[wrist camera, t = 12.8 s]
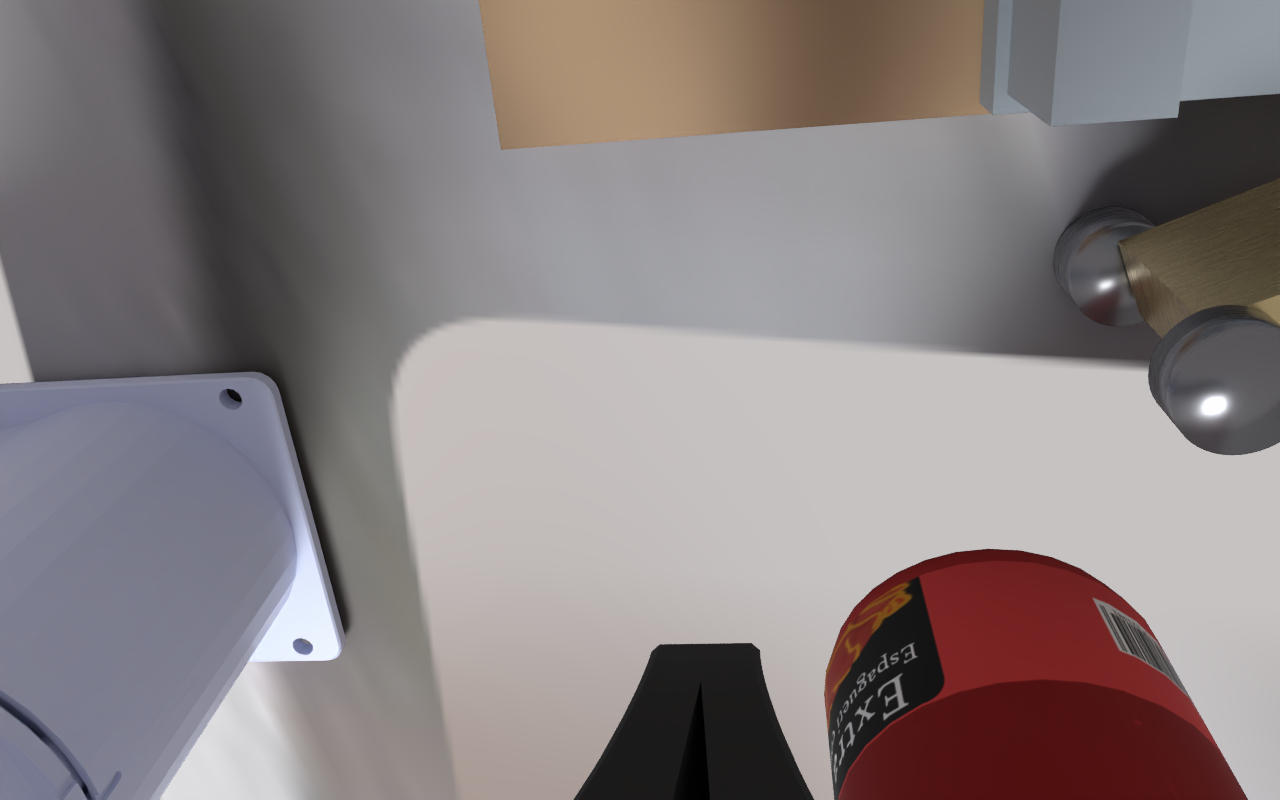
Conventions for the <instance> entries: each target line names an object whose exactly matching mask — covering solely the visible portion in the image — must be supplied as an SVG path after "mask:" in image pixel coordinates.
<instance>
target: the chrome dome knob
mask: <svg viewBox="0 0 1280 800" xmlns="http://www.w3.org/2000/svg"><path fill="white" fill-rule="evenodd" d="M1154 227H1156V226H1155V225H1154V224H1153V223H1152V222H1150V221H1149V220H1148V219H1147V218H1145V217H1144V216H1143V215H1141V214H1140V213H1138V212H1136V211H1134V210H1131V209H1128V208H1124V207H1105V208H1100V209H1097V210H1094V211H1091V212H1089V213H1087V214H1085V215H1083V216H1081V217H1080V218H1078V219H1077V220H1076V221H1075V222H1073V223H1072V224H1071V225H1070V226H1069V227H1068V228H1067V229H1066V231H1065V232H1064V233H1063V235H1062V236H1061V238H1060V240H1059V242H1058V244H1057V246H1056V249H1055V253H1054V264H1053V265H1054V272H1055V275H1056V278H1057V280H1058V282H1059V283H1060V285H1061V286H1062V288H1063V289H1064V290H1065V291H1066V293H1067V294H1068V295H1069V296H1070V297H1071V299H1072V300H1073V301H1074V302H1075V304H1076V305H1077V306H1078V307H1079V308H1080V310H1081V311H1082V312H1083V313H1084V314H1085V315H1086V316H1088V317H1089V318H1090V319H1092V320H1094V321H1095V322H1098V323H1100V324H1104V325H1108V326H1130V325H1134V324H1138V323H1141V322H1143V321H1145V320H1144V319H1143V318H1142V317H1141V316H1140V313H1139V310H1138V306H1137V303H1136V300H1135V296H1134V293H1133V290H1132V287H1131V283H1130V280H1129V277H1128V273H1127V270H1126V267H1125V264H1124V260H1123V257H1122V254H1121V250H1120V247H1119V244H1118V241H1121V240H1123V239H1126V238H1128V237H1131V236H1133V235H1136V234H1138V233H1141V232H1144V231H1146V230H1149V229H1151V228H1154Z"/></svg>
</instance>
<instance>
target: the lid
mask: <svg viewBox="0 0 1280 800" xmlns="http://www.w3.org/2000/svg"><path fill="white" fill-rule="evenodd" d="M1269 94H1280V0H985V2H984V21H983V41H982V61H981V81H980V101H979V103H980V104H981V105H982V106H983V107H984V108H985V109H987V110H988V111H989V112H990V113H991V114H992V115H997V114H1011V113H1024V112H1032V113H1033V114H1035V115H1036V116H1037V117H1039V118H1040V119H1041V120H1043V121H1044V122H1045V123H1047V124H1048V125H1049V126H1051V127H1052V126H1065V125H1079V124H1093V123H1107V122H1121V121H1135V120H1149V119H1163V118H1177V117H1178V112H1179V104H1180V101H1187V100H1201V99H1214V98H1228V97H1241V96H1255V95H1269Z"/></svg>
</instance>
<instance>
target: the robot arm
mask: <svg viewBox="0 0 1280 800" xmlns="http://www.w3.org/2000/svg"><path fill="white" fill-rule="evenodd" d="M227 389H233V390H235V391H236V392H237V393H239V395H240V396H241V398H242V402H237V401H235V400H233V399H232V398H230V396H229V394H228V393H227ZM300 638H302V639H306V640H308V641H309V642H311V644H312V645H310V644H305V643H304V642H302V641H301V639H300ZM344 645H345V634H344V631H343V627H342V623H341V620H340V616H339V612H338V608H337V605H336V601H335V597H334V593H333V590H332V586H331V582H330V579H329V575H328V571H327V567H326V564H325V560H324V556H323V552H322V549H321V545H320V541H319V538H318V534H317V530H316V526H315V523H314V519H313V515H312V511H311V508H310V504H309V500H308V497H307V493H306V489H305V485H304V482H303V478H302V474H301V471H300V467H299V463H298V459H297V456H296V452H295V448H294V444H293V441H292V437H291V433H290V430H289V426H288V422H287V418H286V415H285V411H284V407H283V403H282V400H281V396H280V392H279V390H278V387H277V385H276V383H275V382H274V381H273V380H272V379H271V378H270V377H268V376H266V375H264V374H263V373H259V372H235V373H215V374H194V375H174V376H154V377H133V378H113V379H92V380H72V381H52V382H31V383H11V384H0V800H159V799H160V797H161V796H162V794H163V793H164V791H165V790H166V788H167V786H168V785H169V783H170V782H171V780H172V779H173V777H174V776H175V774H176V772H177V771H178V769H179V768H180V766H181V765H182V763H183V762H184V760H185V758H186V757H187V755H188V754H189V752H190V751H191V749H192V748H193V746H194V744H195V743H196V741H197V740H198V738H199V737H200V735H201V734H202V732H203V731H204V729H205V727H206V726H207V724H208V723H209V721H210V720H211V718H212V717H213V715H214V713H215V712H216V710H217V709H218V707H219V706H220V704H221V703H222V701H223V699H224V698H225V696H226V695H227V693H228V692H229V690H230V689H231V687H232V686H233V684H234V682H235V681H236V679H237V678H238V676H239V675H240V673H241V672H242V670H243V668H244V667H245V665H246V664H247V662H255V661H327V660H332V659H335V658H336V657H338V656H339V654H340V652H341V650H342V649H343V647H344ZM574 800H814V799H813V797H812V795H811V793H810V791H809V789H808V787H807V785H806V783H805V781H804V779H803V777H802V775H801V773H800V771H799V769H798V766H797V764H796V762H795V760H794V757H793V755H792V753H791V750H790V748H789V746H788V744H787V741H786V739H785V737H784V735H783V732H782V730H781V727H780V725H779V722H778V720H777V717H776V714H775V711H774V708H773V705H772V702H771V700H770V697H769V693H768V690H767V687H766V683H765V679H764V675H763V671H762V666H761V659H760V650H759V649H758V648H756V647H755V646H754V645H753V644H752V643H733V644H665V645H659V646H657V647H656V648H655V649H654V650H653V651H652V652H651V655H650V659H649V661H648V664H647V667H646V669H645V671H644V674H643V676H642V679H641V681H640V683H639V685H638V688H637V690H636V692H635V694H634V696H633V698H632V700H631V702H630V704H629V706H628V708H627V710H626V712H625V714H624V716H623V718H622V720H621V722H620V724H619V725H618V727H617V729H616V731H615V733H614V734H613V736H612V738H611V740H610V741H609V743H608V745H607V747H606V749H605V751H604V752H603V754H602V756H601V758H600V759H599V761H598V763H597V764H596V766H595V768H594V769H593V771H592V772H591V774H590V775H589V777H588V778H587V780H586V781H585V783H584V784H583V786H582V788H581V789H580V791H579V792H578V794H577V795H576V797H575V799H574Z"/></svg>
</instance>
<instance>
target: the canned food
mask: <svg viewBox="0 0 1280 800" xmlns="http://www.w3.org/2000/svg"><path fill="white" fill-rule="evenodd" d="M824 696H825V707H826V716H827V727H828V737H829V748H830V758H831V769H832V779H833V789H834V799H835V800H1248V799H1247V797H1246V795H1245V793H1244V792H1243V790H1242V788H1241V786H1240V785H1239V783H1238V781H1237V779H1236V778H1235V776H1234V774H1233V772H1232V771H1231V769H1230V767H1229V765H1228V763H1227V762H1226V760H1225V758H1224V757H1223V755H1222V753H1221V751H1220V749H1219V748H1218V746H1217V744H1216V742H1215V741H1214V739H1213V737H1212V735H1211V733H1210V732H1209V730H1208V728H1207V726H1206V725H1205V723H1204V721H1203V719H1202V718H1201V716H1200V715H1199V712H1198V711H1197V709H1196V707H1195V705H1194V703H1193V702H1192V700H1191V698H1190V696H1189V695H1188V693H1187V691H1186V690H1185V688H1184V686H1183V684H1182V683H1181V681H1180V679H1179V677H1178V675H1177V673H1176V672H1175V670H1174V668H1173V666H1172V665H1171V663H1170V661H1169V659H1168V658H1167V656H1166V654H1165V652H1164V651H1163V649H1162V647H1161V645H1160V644H1159V642H1158V640H1157V639H1156V637H1155V635H1154V634H1153V632H1152V631H1151V629H1150V627H1149V626H1148V624H1147V623H1146V621H1145V619H1144V618H1143V617H1142V616H1141V615H1139V613H1138V612H1136V611H1135V610H1134V609H1133V608H1132V607H1131V606H1130V605H1129V604H1128V603H1127V602H1126V601H1125V600H1124V599H1123V598H1122V597H1121V596H1119V595H1118V594H1117V593H1115V592H1114V591H1113V590H1112V589H1110V588H1109V587H1108V586H1106V585H1105V584H1104V583H1102V582H1101V581H1099V580H1097V579H1096V578H1094V577H1092V576H1091V575H1090V574H1088V573H1086V572H1084V571H1083V570H1081V569H1080V568H1077V567H1075V566H1072V565H1070V564H1067V563H1065V562H1062V561H1060V560H1057V559H1055V558H1052V557H1048V556H1044V555H1039V554H1034V553H1029V552H1024V551H1018V550H999V549H983V550H973V551H964V552H955V553H951V554H948V555H943V556H940V557H936V558H932V559H928V560H925V561H922V562H920V563H918V564H916V565H914V566H911V567H909V568H907V569H904V570H902V571H900V572H898V573H896V574H894V575H893V576H892V577H890V578H889V579H887V580H886V581H884V582H883V583H881V584H880V585H878V586H877V587H875V588H874V589H873V590H872V591H871V592H870V593H869V594H868V595H867V596H866V597H865V598H864V599H863V600H861V602H859V604H857V605H856V606H855V608H854V609H853V611H852V612H851V614H850V615H849V617H848V618H847V620H846V621H845V623H844V625H843V626H842V628H841V630H840V633H839V635H838V638H837V641H836V644H835V647H834V649H833V653H832V655H831V658H830V662H829V664H828V667H827V670H826V679H825V693H824Z"/></svg>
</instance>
